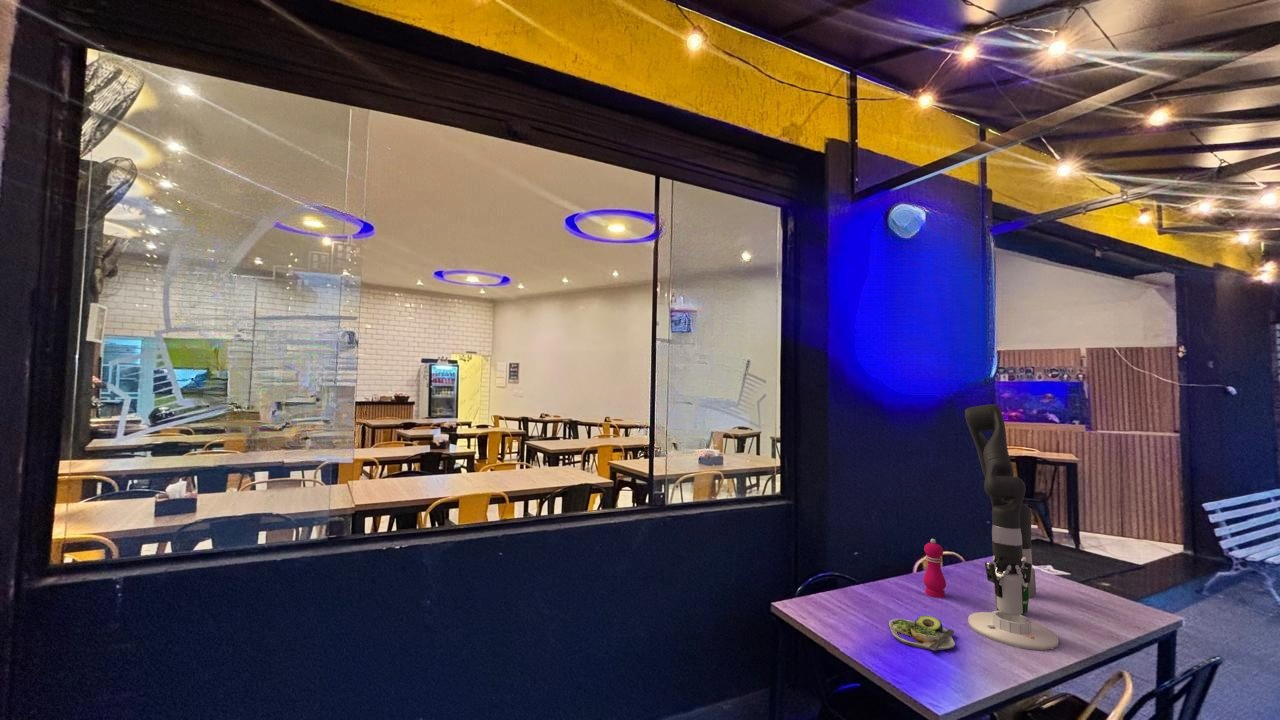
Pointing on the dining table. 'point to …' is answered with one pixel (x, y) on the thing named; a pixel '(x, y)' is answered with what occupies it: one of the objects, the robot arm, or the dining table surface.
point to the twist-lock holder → (1013, 630)
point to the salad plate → (923, 633)
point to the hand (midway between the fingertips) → (1009, 596)
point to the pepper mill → (934, 570)
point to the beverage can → (1010, 595)
